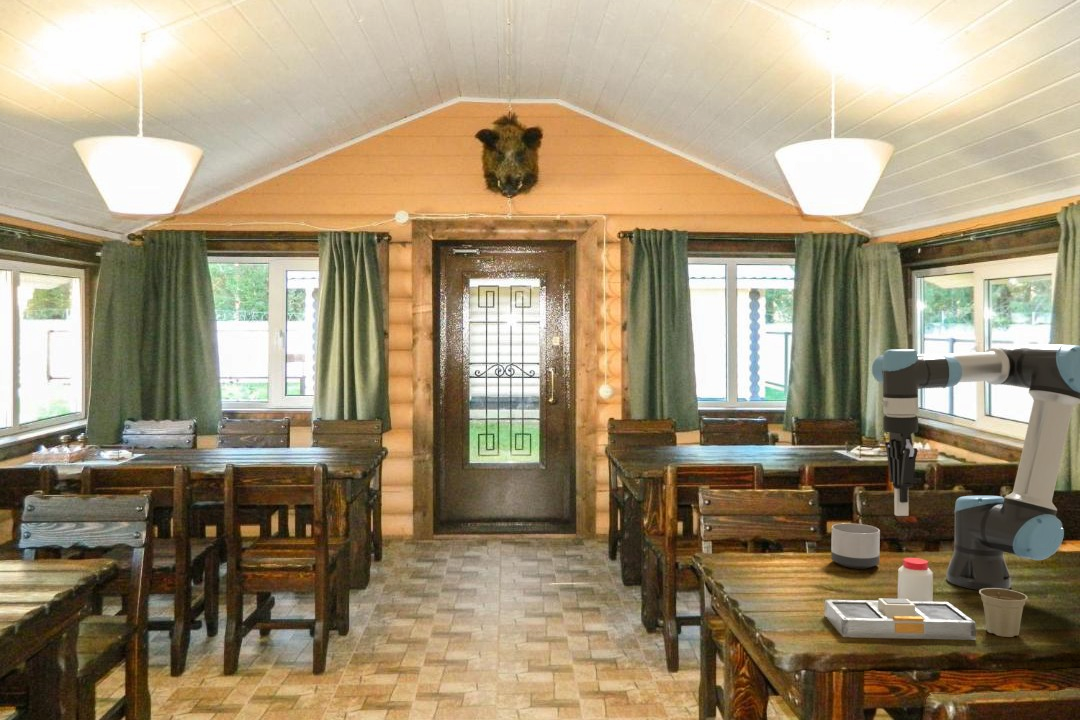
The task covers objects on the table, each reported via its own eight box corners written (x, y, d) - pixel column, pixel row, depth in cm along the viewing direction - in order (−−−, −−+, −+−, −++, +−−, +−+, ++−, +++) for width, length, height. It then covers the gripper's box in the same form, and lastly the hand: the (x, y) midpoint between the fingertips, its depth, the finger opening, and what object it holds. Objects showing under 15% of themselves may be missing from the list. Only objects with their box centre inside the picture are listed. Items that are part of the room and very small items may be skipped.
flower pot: (969, 625, 192) (970, 588, 191) (1008, 624, 192) (1009, 587, 192) (995, 641, 182) (995, 601, 182) (1036, 639, 183) (1037, 600, 183)
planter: (822, 564, 242) (823, 528, 242) (844, 556, 251) (845, 521, 251) (865, 574, 233) (866, 536, 233) (887, 565, 242) (887, 528, 241)
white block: (907, 620, 193) (907, 598, 192) (914, 627, 188) (915, 604, 188) (878, 620, 193) (878, 597, 193) (884, 626, 188) (885, 603, 188)
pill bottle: (930, 612, 201) (930, 566, 200) (895, 607, 205) (895, 561, 204) (934, 604, 207) (935, 559, 207) (900, 598, 211) (901, 554, 211)
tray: (947, 618, 197) (947, 599, 197) (975, 640, 183) (976, 620, 182) (824, 615, 198) (825, 597, 198) (843, 637, 184) (843, 617, 184)
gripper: (873, 412, 205) (874, 509, 206) (895, 418, 192) (896, 522, 193) (905, 411, 205) (906, 508, 206) (928, 417, 192) (929, 521, 193)
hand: (901, 515), depth 200 cm, fingers closed
